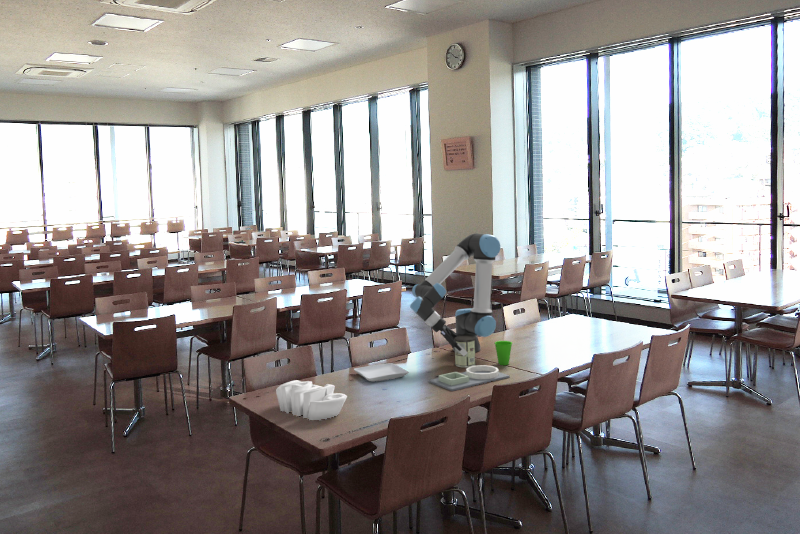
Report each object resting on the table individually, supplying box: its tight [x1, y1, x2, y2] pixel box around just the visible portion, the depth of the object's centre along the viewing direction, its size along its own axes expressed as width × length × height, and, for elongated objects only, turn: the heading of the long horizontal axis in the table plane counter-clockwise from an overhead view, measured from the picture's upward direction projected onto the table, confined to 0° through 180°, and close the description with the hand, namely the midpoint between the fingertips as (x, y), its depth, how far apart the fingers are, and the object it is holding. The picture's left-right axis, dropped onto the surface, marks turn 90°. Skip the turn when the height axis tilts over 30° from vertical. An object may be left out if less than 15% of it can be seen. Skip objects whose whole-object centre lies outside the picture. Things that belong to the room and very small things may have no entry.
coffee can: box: [454, 336, 476, 368], centre depth 341 cm, size 10×10×14 cm
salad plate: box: [353, 362, 410, 383], centre depth 326 cm, size 21×21×3 cm
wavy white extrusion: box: [275, 379, 348, 421], centre depth 277 cm, size 35×16×11 cm, turn 45°
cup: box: [494, 340, 513, 366], centre depth 340 cm, size 9×9×11 cm
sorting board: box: [428, 364, 510, 392], centre depth 315 cm, size 18×34×4 cm, turn 123°
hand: (466, 351), depth 340 cm, fingers open, 13 cm apart
